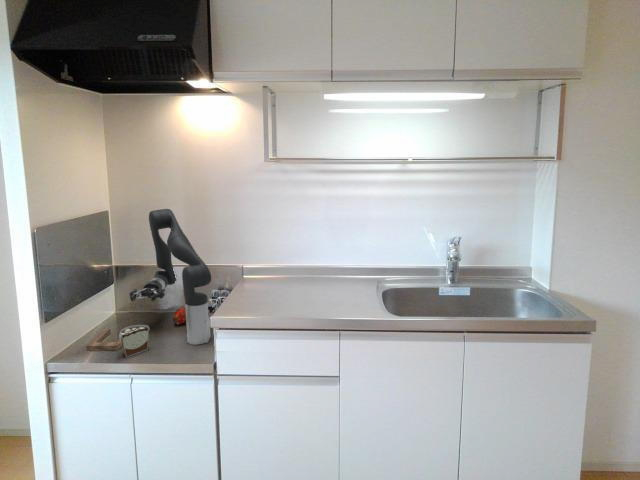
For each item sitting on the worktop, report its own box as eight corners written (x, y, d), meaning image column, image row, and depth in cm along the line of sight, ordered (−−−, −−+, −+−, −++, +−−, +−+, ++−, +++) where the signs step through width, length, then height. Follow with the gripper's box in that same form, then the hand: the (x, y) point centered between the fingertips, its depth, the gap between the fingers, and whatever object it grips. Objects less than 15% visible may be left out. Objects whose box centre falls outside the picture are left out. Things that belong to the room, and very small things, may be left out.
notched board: (134, 332, 198) (134, 328, 198) (117, 350, 181) (117, 345, 180) (106, 333, 198) (105, 328, 198) (86, 350, 180) (86, 346, 180)
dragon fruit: (193, 321, 216) (177, 333, 206) (181, 310, 217) (164, 322, 207) (200, 310, 212) (183, 322, 202) (187, 299, 213) (170, 310, 203)
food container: (143, 344, 187) (141, 321, 185) (151, 348, 183) (149, 325, 181) (114, 354, 177) (112, 330, 175) (122, 358, 173) (120, 334, 172)
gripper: (138, 279, 205) (124, 290, 189) (169, 279, 205) (158, 290, 189) (139, 295, 206) (126, 307, 190) (170, 295, 207) (159, 307, 191)
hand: (142, 299), depth 190 cm, fingers open, 8 cm apart
